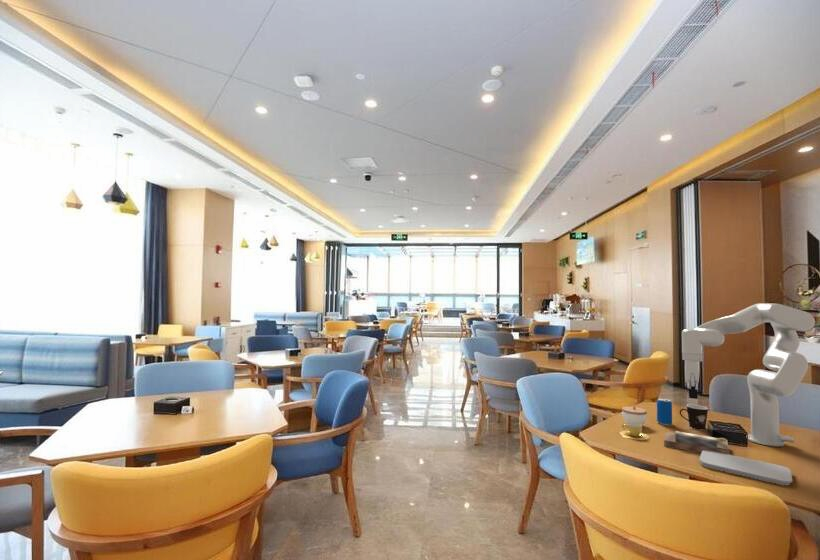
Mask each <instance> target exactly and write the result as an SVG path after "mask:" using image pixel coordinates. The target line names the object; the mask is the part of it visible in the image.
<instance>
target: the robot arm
mask: <svg viewBox="0 0 820 560" xmlns="http://www.w3.org/2000/svg"><path fill="white" fill-rule="evenodd" d="M765 323H770V325H771V326H772V328H773V329H772V330H773V331H774V332H773V333H774V338H773V341H772V343H771V344H770V346H769V347H768V349H767V350H766V352H765V354H764V355H763V357H762V364H763V365H764V366H765V368H767V369H769V370H767V369H761V368H760V369H759V368H758V369H757V368H756V369H753V370H751V371H749V373H748V375H747V378H746V379H747V381H746V382H747V386H748V390H749V398H750V401H749V402H750V433H749V434H747V435H748V439H747V440H748V441H750V442H753V443H755V444H759V445H764V446H769V447H777V448H778V447H784V446H785V442H789V443H793V444H794V443H795V438H794V437H790V436H789V435H787V436H786V435H782V434H781V433H780V405H779V400H778V397H783V398H785V397H786V398H787V397H789V396H791V395H792V394H794V393H795V392H796V390H797V389H798V388H799V385H800V384H801V382H802V380H803V379H804V377H805V375H806V373H807V371H808V369H809V362H808V359H807V358H806V357H805V355H803V354H802V353H799V352H797V350H798V349H799V346H800V337H799V335H798V333H797V332H806V331H807V332H808V331H810V330H812V329H813V328H814V327H815V324H816V320H815V318H814V316H813V315H812V314H811V313H810V312H808V311H804V310H802V309H798V308H794V307H791V306H787V305H784V304H780V303H774V302H773V303H769V302H759V303H755V304H752V305H750V306H747V307H746V308H744V309H741V310H739V311H737V312H735V313H733V314H731V315H726V316H723V317H720V318H716V319H714V320H709V321H706V322H705V323H702V324H700V325H698V326H697V327H695V328H686V329H683V330H682V331H681V355H682V356H681V357H682V358H681V359H682V360H683V361H684V380H685V381H684V382H685V383H688V398H689V399H695V400H698V399H699V398H698V393H699V392H698V391H699V390H698V387H697V386H698V384H699V383H700V382H699V380H700V362H703V359H704V356H703V346H707V347H708V346H709V347H718V346H722V344H724V342H725V339H726V338H725V335H730V334H731V335H733V334H740V333H746V332H747V331H749V330H751V329H753V328H755V327H757V326H761V325H762V324H765ZM771 370H772V371H771ZM775 371H776V372H775Z"/></svg>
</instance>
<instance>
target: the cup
mask: <svg viewBox="0 0 820 560" xmlns="http://www.w3.org/2000/svg"><path fill="white" fill-rule="evenodd" d="M621 427H622V429H623V430H621V431H619V435H620V436H621V437H624V438H626V439H632V440H635V441H636V440H637V441H639V440H640V441H645V440H646V441H647V440H649V439H650V436H649V435H648V434H646V433H643V432H642V431H643V425H642V424H639V423H635V422H627V423H626V422H625V423H623V424H622V425H621ZM626 433H628V434H629V435H628V434H627V435H628V436H627V435H626ZM641 435H642V436H643V437H642V436H641ZM634 436H635V437H634ZM640 436H641V437H642V438H641V437H640Z"/></svg>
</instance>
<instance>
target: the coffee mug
mask: <svg viewBox="0 0 820 560" xmlns="http://www.w3.org/2000/svg"><path fill="white" fill-rule="evenodd" d="M682 411H686V412H687V417H685V416H683V415H682ZM708 412H709V408H708V406H704V405H698V404H686V408H681V409H680V410H679V415H680V416H681V417H682V418H683V419H684V420H686V421H687V422H688V425H689V428H691V427H692V428H691V429H694V428H695V429H694V430H699V429H705V428H706V427H707V419H708ZM706 429H707V428H706ZM706 429H705V430H706Z"/></svg>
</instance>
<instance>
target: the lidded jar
mask: <svg viewBox="0 0 820 560" xmlns="http://www.w3.org/2000/svg"><path fill="white" fill-rule="evenodd" d="M621 413H622V414H621V415H622V418H623V420H624V422H625V424H626V423H627V422H635V423H639V424H642V426H643V425H645V424H646V422H647V421H646V420H647V413H648V412H647V410H646V409H645V408H642V407H638V406H637V407H636V405H633V406H622V407H621Z"/></svg>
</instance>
